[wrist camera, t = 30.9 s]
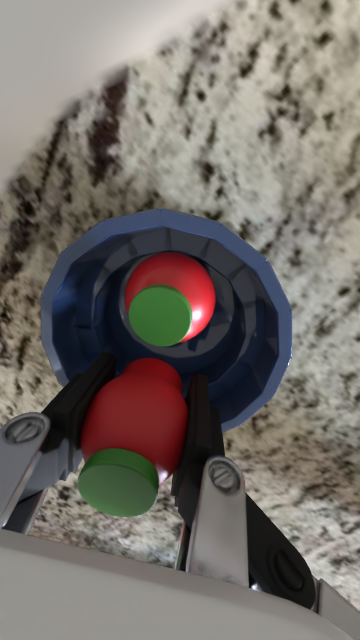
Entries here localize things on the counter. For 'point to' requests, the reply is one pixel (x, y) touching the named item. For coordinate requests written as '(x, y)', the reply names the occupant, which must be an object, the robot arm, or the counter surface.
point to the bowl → (188, 356)
